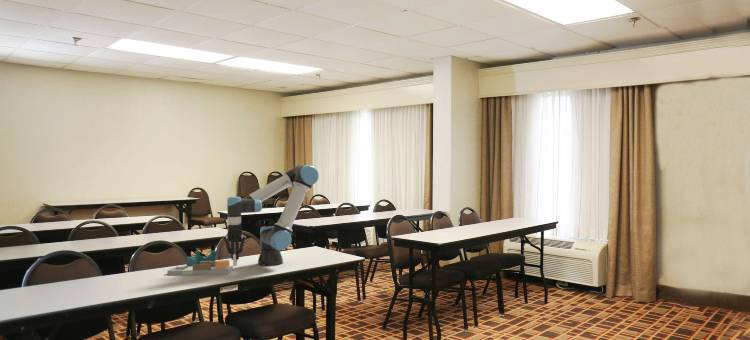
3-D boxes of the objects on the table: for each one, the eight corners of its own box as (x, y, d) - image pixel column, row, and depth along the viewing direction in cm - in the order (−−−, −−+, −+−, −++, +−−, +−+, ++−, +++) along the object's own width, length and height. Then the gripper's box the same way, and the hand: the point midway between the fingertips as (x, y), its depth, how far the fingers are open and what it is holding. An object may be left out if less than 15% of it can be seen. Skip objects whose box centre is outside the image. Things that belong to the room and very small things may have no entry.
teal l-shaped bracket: (214, 268, 316) (215, 251, 316) (196, 269, 309) (197, 251, 310) (203, 264, 330) (205, 247, 331) (186, 265, 324) (187, 248, 324)
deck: (232, 270, 307) (232, 260, 306) (226, 274, 295) (225, 264, 294) (176, 270, 308) (176, 261, 308) (167, 275, 296) (167, 265, 296)
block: (229, 267, 304) (229, 260, 304) (225, 269, 298) (225, 262, 298) (219, 267, 304) (219, 260, 304) (215, 269, 298) (215, 262, 298)
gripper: (247, 223, 303) (248, 264, 304) (225, 223, 304) (226, 264, 304) (243, 224, 296) (244, 266, 296) (220, 224, 297) (221, 266, 297)
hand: (235, 265), depth 300 cm, fingers closed
